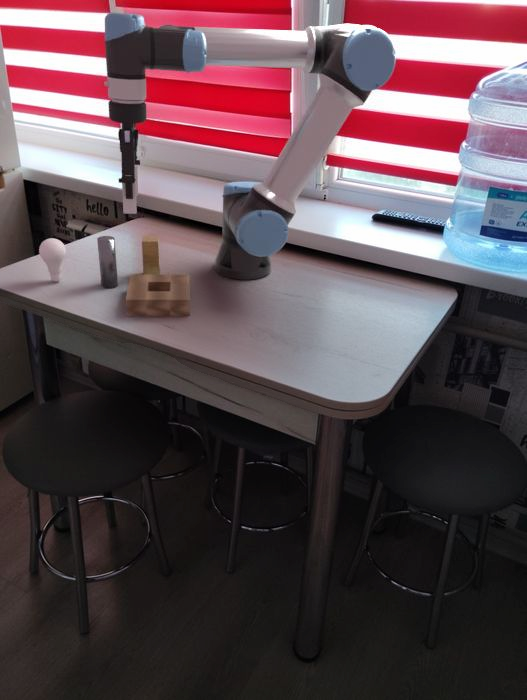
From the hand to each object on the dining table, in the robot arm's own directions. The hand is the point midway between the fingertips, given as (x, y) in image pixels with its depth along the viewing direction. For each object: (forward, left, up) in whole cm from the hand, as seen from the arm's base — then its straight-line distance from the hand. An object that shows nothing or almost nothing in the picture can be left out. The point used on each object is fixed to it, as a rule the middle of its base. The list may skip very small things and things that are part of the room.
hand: (131, 203), depth 131 cm
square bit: (-3, -12, -22) cm, 26 cm away
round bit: (+7, -6, -22) cm, 24 cm away
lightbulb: (+20, -8, -23) cm, 31 cm away
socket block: (-6, +4, -22) cm, 23 cm away
